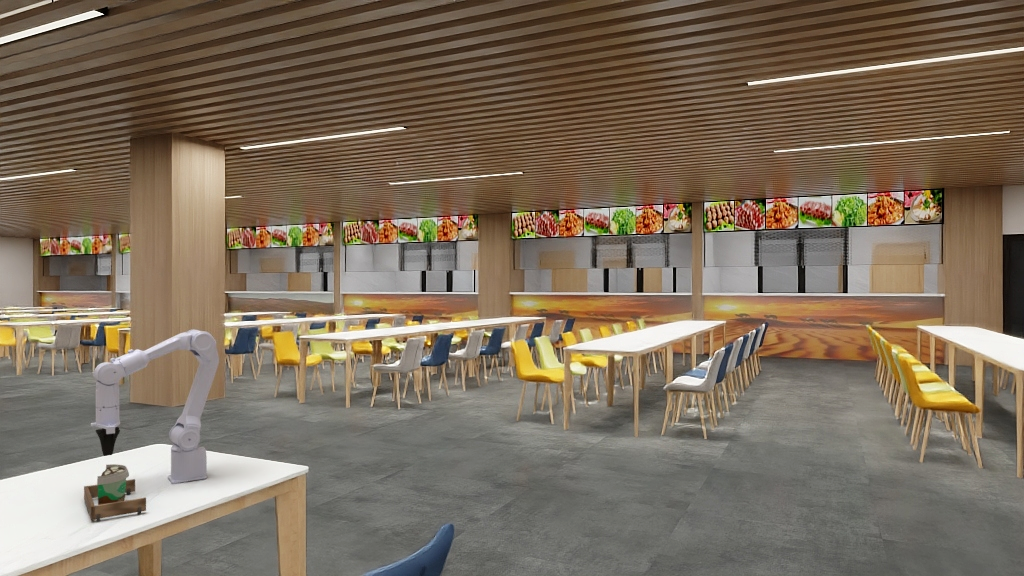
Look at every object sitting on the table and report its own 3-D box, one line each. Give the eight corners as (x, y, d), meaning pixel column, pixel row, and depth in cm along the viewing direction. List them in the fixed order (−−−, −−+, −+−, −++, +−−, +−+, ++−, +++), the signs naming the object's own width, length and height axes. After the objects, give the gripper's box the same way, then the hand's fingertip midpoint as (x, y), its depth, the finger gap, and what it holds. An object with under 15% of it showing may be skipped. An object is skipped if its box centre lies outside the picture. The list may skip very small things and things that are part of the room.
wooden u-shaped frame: (134, 492, 195) (134, 478, 195) (146, 513, 178) (146, 498, 178) (83, 499, 188) (83, 486, 188) (91, 522, 171) (91, 507, 171)
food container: (125, 513, 178) (124, 474, 178) (97, 516, 176) (97, 476, 175) (132, 499, 189) (132, 462, 189) (106, 501, 187) (106, 464, 187)
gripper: (88, 403, 198) (88, 451, 198) (93, 412, 186) (93, 462, 186) (116, 400, 202) (117, 447, 202) (123, 409, 190) (123, 459, 190)
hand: (107, 454), depth 195 cm, fingers closed
